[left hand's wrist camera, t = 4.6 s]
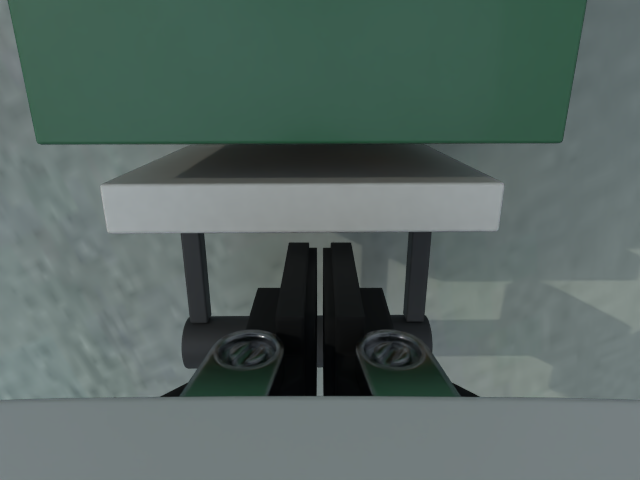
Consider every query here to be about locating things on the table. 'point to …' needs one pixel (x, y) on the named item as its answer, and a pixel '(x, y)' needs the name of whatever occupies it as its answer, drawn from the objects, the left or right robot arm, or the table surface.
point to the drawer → (300, 210)
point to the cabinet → (298, 70)
